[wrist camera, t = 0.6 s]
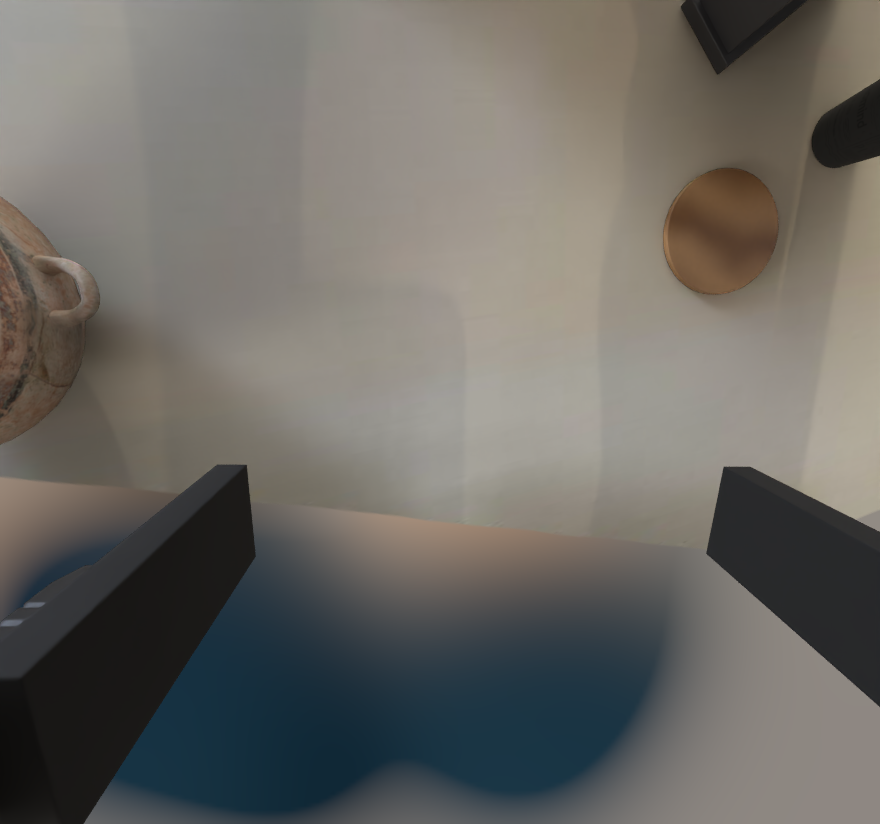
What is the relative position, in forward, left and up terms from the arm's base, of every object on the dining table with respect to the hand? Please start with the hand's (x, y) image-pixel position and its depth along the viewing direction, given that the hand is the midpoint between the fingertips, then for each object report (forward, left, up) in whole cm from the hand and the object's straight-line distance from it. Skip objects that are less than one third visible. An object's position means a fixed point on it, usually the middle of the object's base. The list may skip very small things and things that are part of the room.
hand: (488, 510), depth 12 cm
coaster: (-14, +26, -27) cm, 40 cm away
